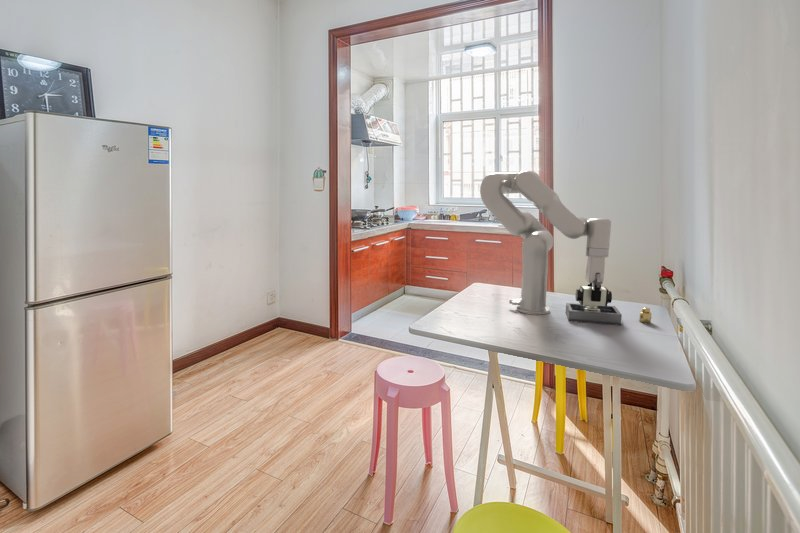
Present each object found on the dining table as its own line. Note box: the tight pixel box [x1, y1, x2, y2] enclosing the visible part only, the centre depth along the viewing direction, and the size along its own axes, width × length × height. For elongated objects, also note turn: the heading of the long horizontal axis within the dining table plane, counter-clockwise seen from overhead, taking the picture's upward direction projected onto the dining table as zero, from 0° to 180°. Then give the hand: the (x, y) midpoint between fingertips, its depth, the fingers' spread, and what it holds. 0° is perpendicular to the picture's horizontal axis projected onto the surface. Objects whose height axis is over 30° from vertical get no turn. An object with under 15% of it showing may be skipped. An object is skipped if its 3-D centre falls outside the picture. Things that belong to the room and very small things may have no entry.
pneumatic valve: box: [574, 285, 613, 312], centre depth 156 cm, size 6×12×12 cm, turn 76°
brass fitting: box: [638, 307, 652, 324], centre depth 152 cm, size 4×4×5 cm
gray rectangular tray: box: [565, 302, 623, 326], centre depth 157 cm, size 17×13×4 cm
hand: (593, 298), depth 155 cm, fingers open, 9 cm apart
